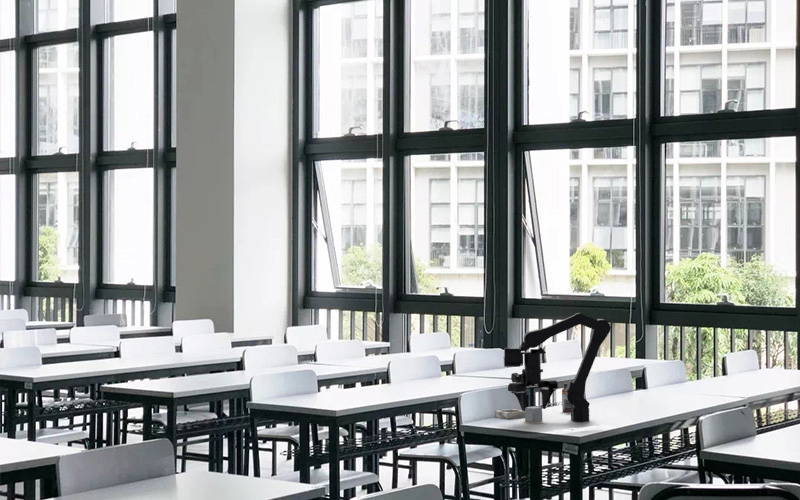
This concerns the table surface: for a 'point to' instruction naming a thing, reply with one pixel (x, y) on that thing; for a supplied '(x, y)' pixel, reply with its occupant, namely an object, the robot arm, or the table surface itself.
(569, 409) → the supplement bottle
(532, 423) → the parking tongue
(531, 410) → the grey angular block
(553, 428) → the table surface
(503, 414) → the rack board
